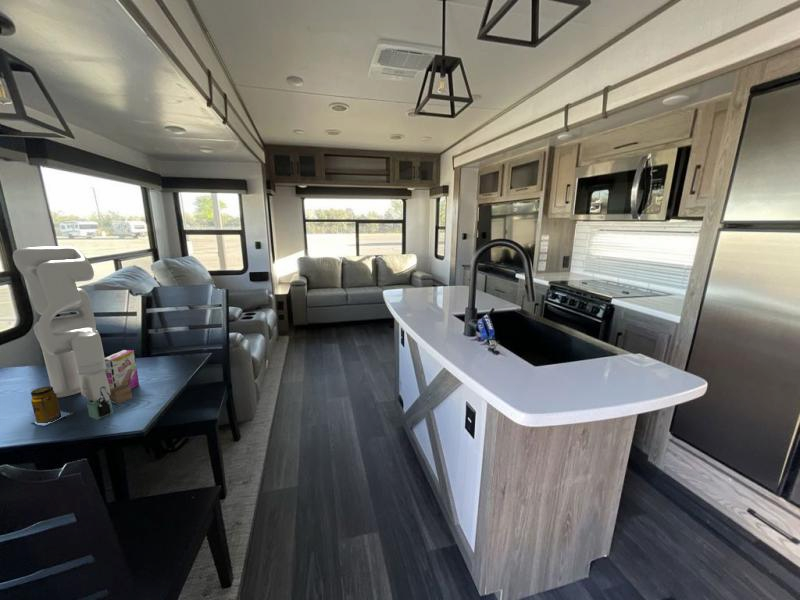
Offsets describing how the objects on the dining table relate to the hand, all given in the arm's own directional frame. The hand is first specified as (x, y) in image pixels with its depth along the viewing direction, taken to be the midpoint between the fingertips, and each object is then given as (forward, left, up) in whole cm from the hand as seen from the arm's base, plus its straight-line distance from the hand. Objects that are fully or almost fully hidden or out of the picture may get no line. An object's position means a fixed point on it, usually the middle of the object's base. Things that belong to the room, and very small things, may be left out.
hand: (101, 412), depth 119 cm
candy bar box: (-13, +13, -1) cm, 18 cm away
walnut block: (-6, +9, -1) cm, 11 cm away
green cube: (0, 0, -1) cm, 1 cm away
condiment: (-12, -9, -1) cm, 15 cm away
